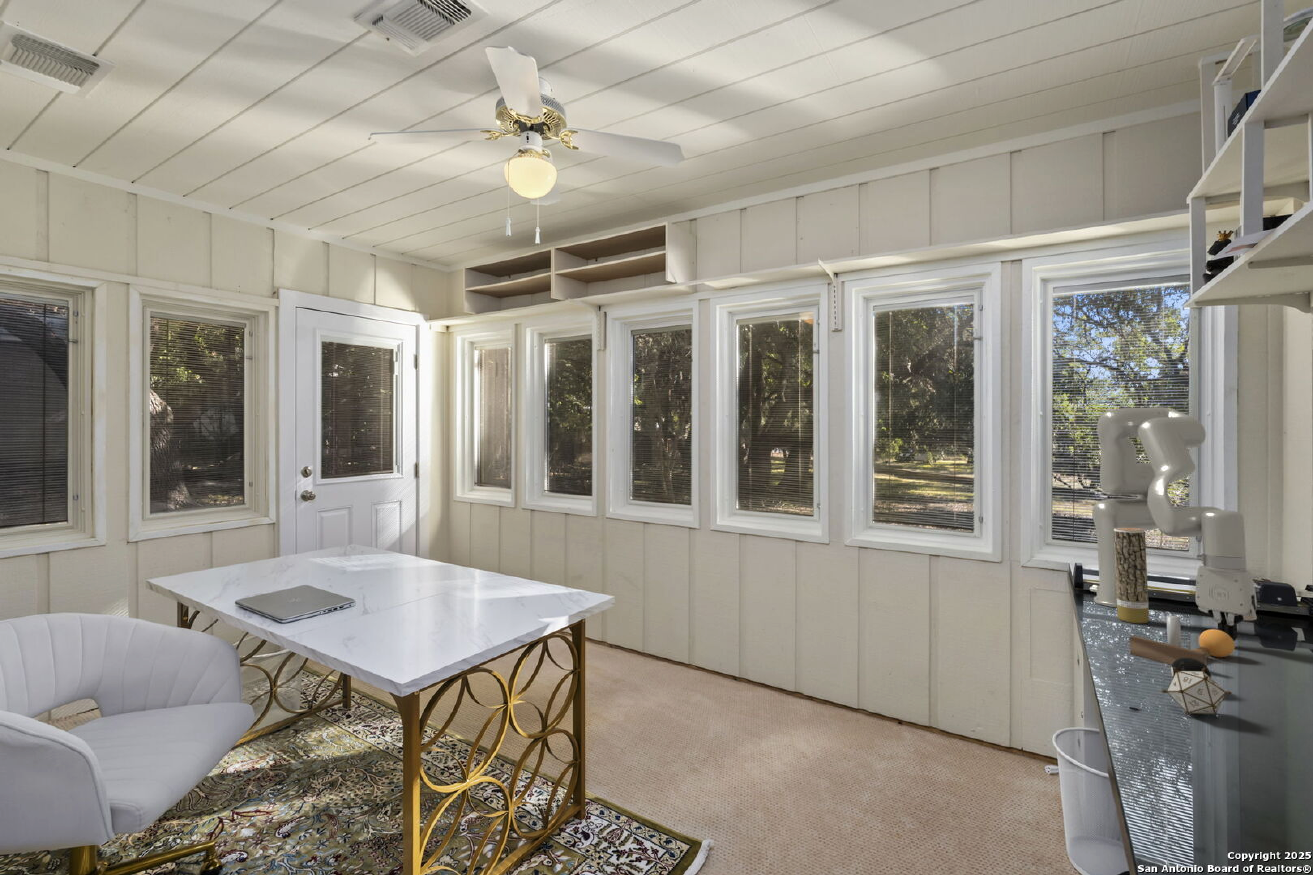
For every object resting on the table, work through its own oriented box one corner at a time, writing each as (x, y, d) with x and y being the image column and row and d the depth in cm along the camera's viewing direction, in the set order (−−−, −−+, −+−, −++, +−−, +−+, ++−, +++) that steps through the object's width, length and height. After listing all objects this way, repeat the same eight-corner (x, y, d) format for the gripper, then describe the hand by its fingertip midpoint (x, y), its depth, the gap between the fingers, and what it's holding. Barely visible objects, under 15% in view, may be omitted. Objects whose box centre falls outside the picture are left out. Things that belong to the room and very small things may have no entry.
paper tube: (1155, 624, 165) (1151, 530, 165) (1129, 624, 165) (1125, 531, 165) (1136, 617, 172) (1132, 527, 172) (1111, 617, 172) (1107, 527, 172)
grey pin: (1165, 652, 142) (1163, 615, 143) (1173, 651, 143) (1171, 615, 143) (1176, 656, 140) (1174, 618, 140) (1184, 655, 141) (1182, 617, 141)
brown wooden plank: (1134, 652, 143) (1133, 635, 143) (1207, 672, 130) (1206, 653, 130) (1130, 653, 142) (1129, 636, 143) (1203, 673, 130) (1202, 654, 130)
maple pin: (1197, 645, 140) (1178, 652, 136) (1210, 648, 138) (1192, 655, 134) (1197, 656, 140) (1178, 662, 136) (1210, 659, 138) (1192, 666, 134)
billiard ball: (1168, 681, 126) (1167, 651, 126) (1207, 686, 123) (1205, 656, 123) (1175, 691, 121) (1174, 660, 121) (1215, 697, 118) (1214, 665, 118)
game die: (1184, 734, 111) (1139, 682, 115) (1209, 709, 114) (1165, 659, 118) (1230, 728, 103) (1180, 673, 107) (1256, 701, 106) (1207, 649, 110)
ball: (1204, 621, 140) (1201, 629, 144) (1196, 644, 139) (1194, 652, 143) (1239, 632, 136) (1236, 641, 140) (1231, 657, 135) (1228, 665, 139)
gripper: (1178, 559, 151) (1181, 634, 151) (1256, 569, 138) (1260, 652, 137) (1196, 556, 154) (1199, 630, 154) (1274, 566, 141) (1278, 647, 140)
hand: (1227, 640), depth 146 cm, fingers closed
